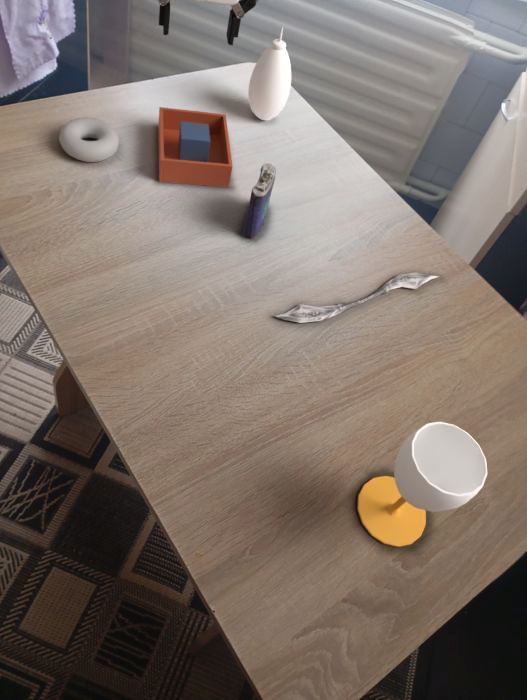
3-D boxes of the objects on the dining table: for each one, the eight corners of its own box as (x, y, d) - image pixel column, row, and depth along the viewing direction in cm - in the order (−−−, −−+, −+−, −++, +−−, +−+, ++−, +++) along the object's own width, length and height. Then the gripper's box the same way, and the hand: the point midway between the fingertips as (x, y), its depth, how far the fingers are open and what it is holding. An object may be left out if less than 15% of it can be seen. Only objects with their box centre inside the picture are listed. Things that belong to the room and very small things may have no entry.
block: (179, 162, 101) (181, 138, 97) (178, 145, 104) (180, 121, 100) (207, 165, 102) (210, 141, 98) (205, 147, 105) (208, 124, 101)
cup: (380, 558, 67) (440, 513, 54) (344, 490, 71) (391, 433, 58) (439, 530, 71) (508, 481, 58) (401, 466, 75) (457, 408, 62)
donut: (124, 165, 99) (114, 129, 103) (123, 149, 96) (113, 112, 101) (64, 167, 95) (56, 130, 100) (62, 150, 93) (54, 113, 97)
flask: (253, 202, 99) (266, 151, 91) (269, 207, 100) (283, 156, 91) (240, 236, 94) (251, 185, 85) (257, 242, 94) (270, 191, 85)
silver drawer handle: (272, 315, 85) (289, 339, 83) (273, 312, 85) (290, 337, 83) (423, 260, 99) (441, 280, 97) (425, 258, 99) (443, 277, 97)
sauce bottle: (289, 121, 116) (312, 32, 102) (264, 133, 112) (285, 42, 98) (261, 102, 118) (280, 12, 104) (236, 113, 114) (252, 21, 100)
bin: (159, 181, 98) (160, 160, 94) (158, 128, 106) (159, 106, 103) (228, 187, 101) (232, 166, 97) (222, 135, 109) (225, 114, 105)
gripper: (143, -106, 67) (138, 39, 81) (283, -76, 71) (256, 57, 85) (143, -128, 71) (139, 14, 85) (275, -99, 76) (251, 32, 89)
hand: (197, 35), depth 85 cm, fingers open, 9 cm apart
